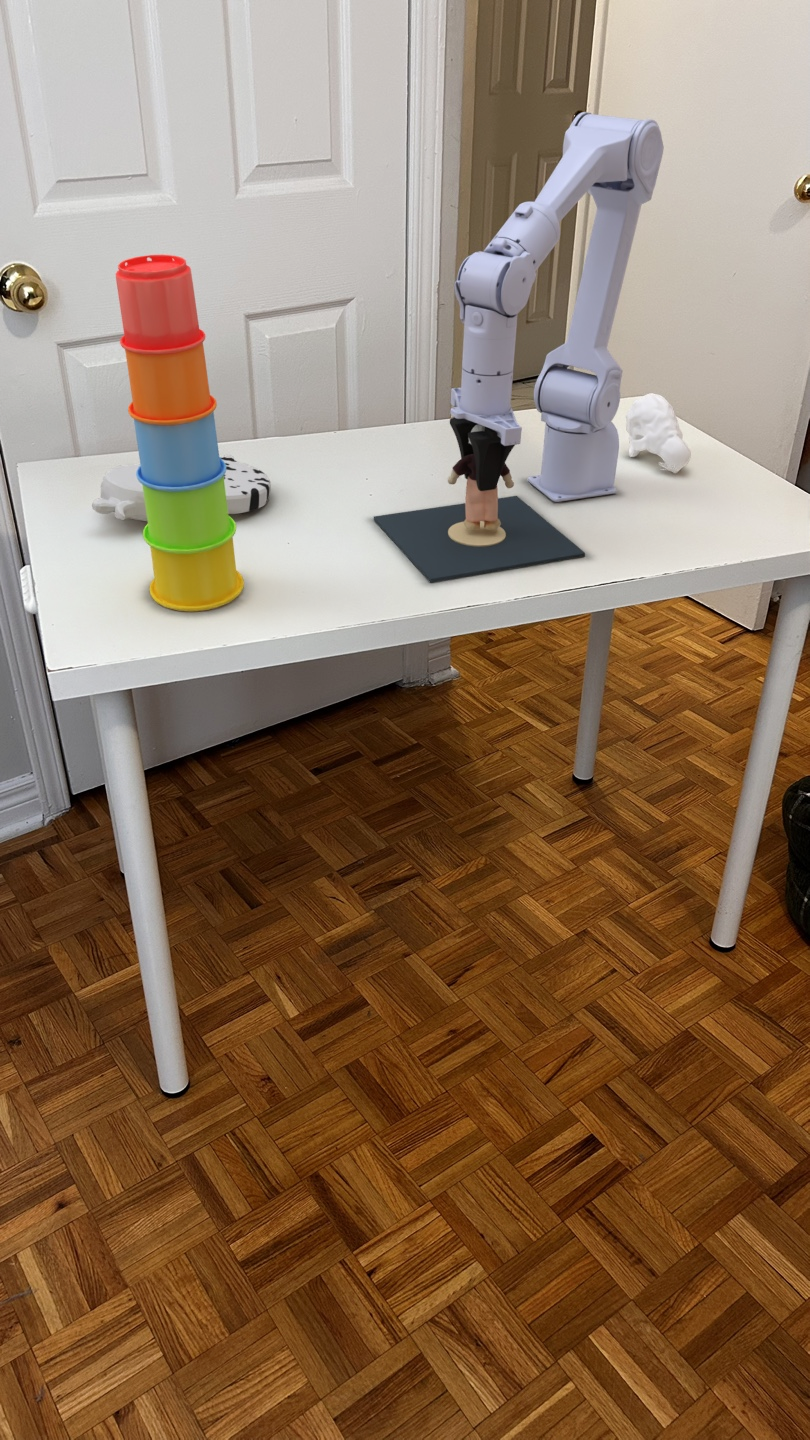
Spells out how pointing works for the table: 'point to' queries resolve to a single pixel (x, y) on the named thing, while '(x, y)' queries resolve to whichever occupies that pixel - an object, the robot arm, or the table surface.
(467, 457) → the grandmother figurine
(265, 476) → the toy
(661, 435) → the white lumpy figurine
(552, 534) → the display mat
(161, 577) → the stacking cups
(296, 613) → the table surface
